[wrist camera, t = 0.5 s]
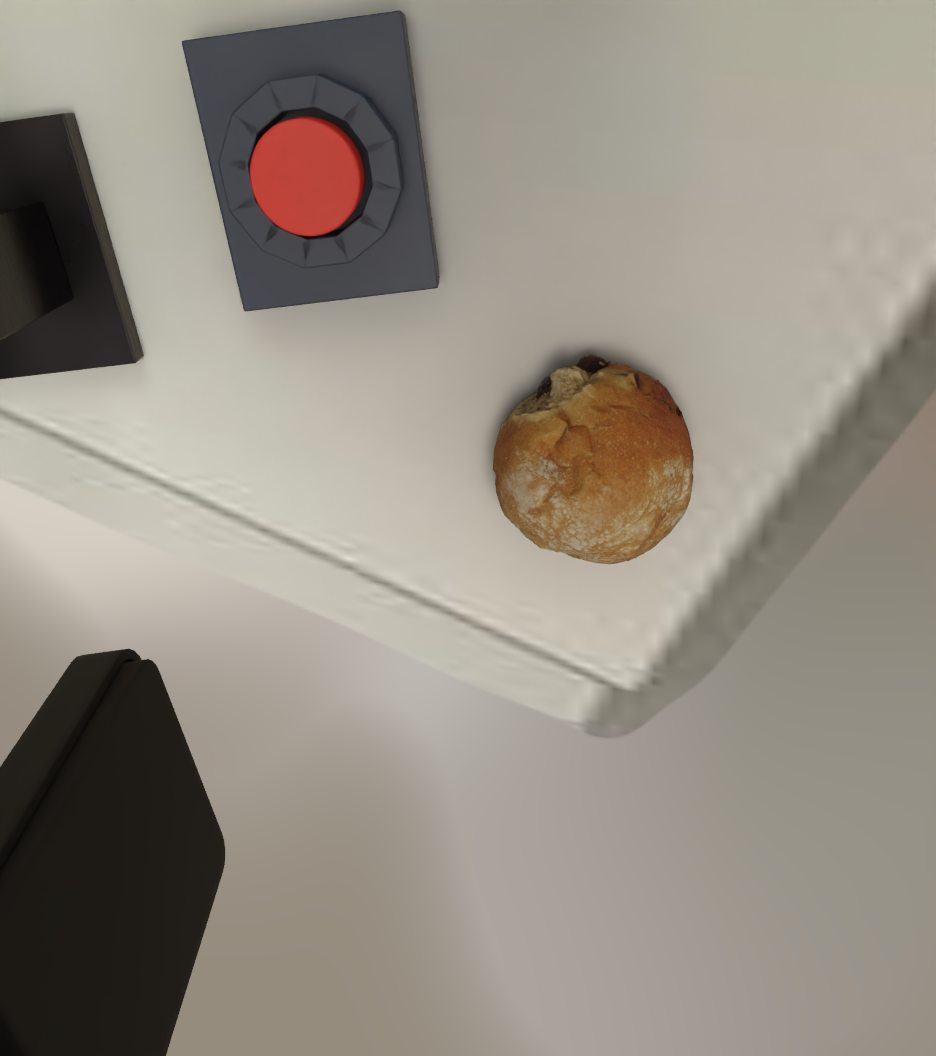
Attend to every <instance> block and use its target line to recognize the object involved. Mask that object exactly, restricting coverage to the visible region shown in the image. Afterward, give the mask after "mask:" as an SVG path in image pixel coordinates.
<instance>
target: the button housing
mask: <svg viewBox="0 0 936 1056" xmlns="http://www.w3.org/2000/svg"><path fill="white" fill-rule="evenodd" d="M182 45H183V50H184V54H185V58H186V63H187V67H188V71H189V76H190V80H191V84H192V88H193V93H194V97H195V101H196V106H197V110H198V114H199V119H200V123H201V127H202V132H203V136H204V140H205V145H206V149H207V153H208V158H209V162H210V166H211V171H212V175H213V179H214V183H215V188H216V192H217V196H218V201H219V205H220V209H221V214H222V218H223V222H224V227H225V231H226V235H227V240H228V244H229V248H230V253H231V257H232V261H233V266H234V270H235V274H236V279H237V283H238V287H239V291H240V296H241V300H242V304H243V309H244V311H253V310H261V309H269V308H277V307H286V306H294V305H302V304H310V303H318V302H327V301H335V300H343V299H351V298H359V297H368V296H376V295H384V294H392V293H401V292H409V291H417V290H425V289H433V288H438V285H439V278H440V276H439V269H438V261H437V254H436V246H435V238H434V231H433V223H432V216H431V208H430V200H429V193H428V185H427V178H426V170H425V163H424V155H423V147H422V140H421V132H420V125H419V117H418V110H417V102H416V94H415V87H414V79H413V72H412V64H411V56H410V49H409V41H408V34H407V26H406V19H405V14H404V13H403V12H402V11H393V12H386V13H378V14H371V15H364V16H357V17H350V18H343V19H335V20H328V21H321V22H314V23H307V24H300V25H292V26H285V27H278V28H271V29H264V30H257V31H249V32H242V33H235V34H228V35H221V36H214V37H206V38H199V39H192V40H185V41H182ZM307 116H308V117H317V118H321V119H324V120H327V121H329V122H331V123H333V124H335V125H337V126H338V127H339V128H341V129H342V130H343V131H344V132H345V133H346V134H347V135H348V136H349V137H350V138H351V139H352V141H353V142H354V144H355V145H356V147H357V149H358V151H359V153H360V155H361V158H362V161H363V166H364V173H365V184H364V190H363V194H362V197H361V200H360V202H359V204H358V206H357V207H356V209H355V211H354V212H353V213H352V214H351V215H350V217H349V218H348V219H347V220H346V221H345V222H344V223H343V224H342V225H341V226H339V227H338V228H336V229H335V230H333V231H331V232H329V233H326V234H323V235H318V236H301V235H297V234H293V233H290V232H288V231H286V230H284V229H282V228H280V227H279V226H277V225H276V224H275V223H273V222H272V221H271V220H270V219H269V218H268V217H267V216H266V215H265V214H264V212H263V211H262V209H261V208H260V206H259V205H258V203H257V201H256V199H255V196H254V194H253V191H252V187H251V181H250V163H251V158H252V154H253V152H254V149H255V147H256V145H257V143H258V141H259V140H260V139H261V137H262V136H263V135H264V134H265V133H266V132H267V131H268V130H269V129H270V128H272V127H273V126H274V125H276V124H278V123H280V122H283V121H285V120H289V119H293V118H298V117H307Z"/></svg>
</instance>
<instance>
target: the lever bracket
mask: <svg viewBox="0 0 936 1056" xmlns="http://www.w3.org/2000/svg"><path fill="white" fill-rule="evenodd" d="M143 356H144V355H143V352H142V349H141V345H140V342H139V338H138V335H137V331H136V328H135V324H134V321H133V317H132V314H131V310H130V307H129V303H128V300H127V296H126V293H125V290H124V286H123V283H122V279H121V276H120V272H119V269H118V265H117V262H116V258H115V255H114V251H113V248H112V244H111V241H110V237H109V234H108V230H107V227H106V224H105V220H104V217H103V213H102V210H101V206H100V203H99V199H98V196H97V192H96V189H95V185H94V182H93V178H92V175H91V171H90V168H89V164H88V161H87V158H86V154H85V151H84V147H83V144H82V140H81V137H80V133H79V130H78V126H77V123H76V119H75V116H74V113H66V114H57V115H50V116H43V117H35V118H28V119H20V120H13V121H6V122H0V379H6V378H14V377H23V376H31V375H39V374H48V373H56V372H65V371H73V370H81V369H90V368H98V367H106V366H115V365H123V364H132V363H136V362H137V361H139V360H140V359H141V358H142V357H143Z"/></svg>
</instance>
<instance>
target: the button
mask: <svg viewBox="0 0 936 1056" xmlns="http://www.w3.org/2000/svg"><path fill="white" fill-rule="evenodd" d="M250 181H251V187H252V191H253V194H254V196H255V199H256V201H257V203H258V205H259V206H260V208H261V209H262V211H263V212H264V214H265V215H266V216H267V217H268V218H269V219H270V220H271V221H272V222H273V223H275V224H276V225H277V226H279V227H280V228H282V229H284V230H286V231H288V232H290V233H293V234H297V235H301V236H318V235H323V234H326V233H329V232H331V231H333V230H335V229H336V228H338V227H339V226H341V225H342V224H343V223H344V222H345V221H346V220H347V219H348V218H349V217H350V215H351V214H352V213H353V212H354V211H355V209H356V207H357V206H358V204H359V202H360V200H361V197H362V194H363V190H364V184H365V173H364V166H363V161H362V158H361V155H360V153H359V151H358V149H357V147H356V145H355V144H354V142H353V141H352V139H351V138H350V137H349V136H348V135H347V134H346V133H345V132H344V131H343V130H342V129H341V128H339V127H338V126H337V125H335V124H333V123H331V122H329V121H327V120H324V119H321V118H317V117H308V116H307V117H298V118H293V119H289V120H285V121H283V122H280V123H278V124H276V125H274V126H273V127H272V128H270V129H269V130H268V131H267V132H266V133H265V134H264V135H263V136H262V137H261V139H260V140H259V141H258V143H257V145H256V147H255V149H254V152H253V154H252V158H251V163H250Z"/></svg>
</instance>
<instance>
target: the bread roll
mask: <svg viewBox="0 0 936 1056" xmlns="http://www.w3.org/2000/svg"><path fill="white" fill-rule="evenodd" d="M501 425H502V427H501V429H500V432H499V434H498V437H497V441H496V444H495V449H494V458H493V470H494V472H495V474H496V479H495V485H496V492H497V496H498V499H499V502H500V506H501V509H502V511H503V513H504V515H505V516H506V517H507V518H508V519H509V520H510V521H511V522H512V523H513V524H514V525H515V526H516V527H517V528H518V529H519V530H520V531H521V532H522V533H523V534H524V535H525V536H526V537H527V538H528V539H530V540H531V541H533V542H534V544H536V545H537V546H538V547H539V548H543V549H548V550H553V551H556V552H562V553H565V554H567V555H569V556H572V557H574V558H578V559H583V560H586V561H590V562H594V563H603V564H615V563H620V562H624V561H629V560H631V559H633V558H636V557H638V556H639V555H642V554H644V553H645V552H647V551H649V550H650V549H652V548H653V547H654V546H655V545H657V544H658V543H659V542H660V541H661V540H662V539H663V538H664V537H666V536H667V535H668V534H669V533H670V532H671V531H672V529H673V528H674V527H675V525H676V524H677V523H678V522H679V521H680V519H681V518H682V517H683V515H684V513H685V511H686V509H687V507H688V504H689V501H690V496H691V492H692V483H693V474H692V471H693V450H692V447H691V441H690V436H689V432H688V429H687V426H686V423H685V421H684V418H683V415H682V412H681V411H680V410H679V408H678V406H677V405H676V403H675V402H674V400H673V399H672V397H671V395H670V393H669V392H668V390H667V388H666V387H665V386H663V385H662V384H661V383H660V382H659V381H658V380H655V379H653V378H652V377H650V376H648V375H646V374H644V373H642V372H639V371H636V370H634V369H632V368H630V367H629V366H626V365H622V364H618V363H610V362H607V361H605V360H604V359H603V358H600V357H598V356H594V355H589V356H588V357H583V358H582V359H581V360H580V361H579V362H578V364H577V366H573V367H571V368H568V367H564V368H560V369H557V370H556V371H555V372H553V373H552V374H551V375H550V376H549V377H547V378H546V379H545V380H544V381H543V382H542V384H541V385H540V386H539V388H538V391H537V392H536V393H535V394H533V395H531V396H530V397H528V398H527V399H525V400H523V401H522V402H521V403H520V404H519V405H518V406H517V407H516V409H515V410H514V411H513V412H512V413H511V414H510V416H509V417H508V419H507V420H506V422H503V423H502V424H501Z"/></svg>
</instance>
